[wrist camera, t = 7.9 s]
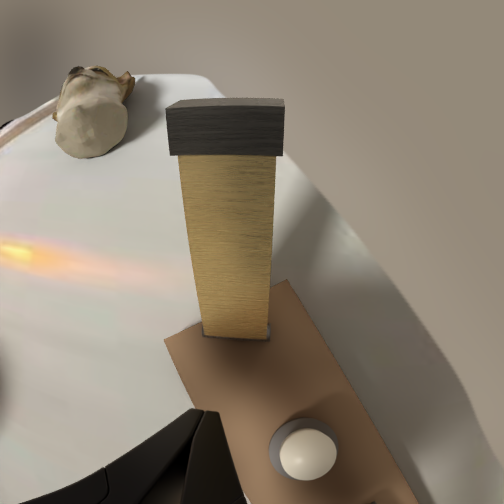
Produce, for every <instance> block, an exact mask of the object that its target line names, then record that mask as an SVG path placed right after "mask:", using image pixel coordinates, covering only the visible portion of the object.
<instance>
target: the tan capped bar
mask: <svg viewBox="0 0 504 504" xmlns="http://www.w3.org/2000/svg"><path fill="white" fill-rule="evenodd" d="M165 110H166V121H167V132H168V142H169V151H170V156H175V155H178V162H179V171H180V180H181V188H182V197H183V204H184V212H185V219H186V227H187V234H188V240H189V247H190V254H191V260H192V266H193V272H194V278H195V284H196V290H197V296H198V301H199V307H200V312H201V318H202V337H206V338H217V339H229V340H244V341H260V342H270V333H271V323H267V321H268V305H269V289H270V272H271V254H272V236H273V216H274V194H275V171H276V156H283V138H284V114H285V105H284V100H283V99H273V98H210V99H191V100H180V101H178V102H176V103H174V104H173V105H171V106H169V107H167V108H166V109H165Z"/></svg>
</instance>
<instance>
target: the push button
mask: <svg viewBox="0 0 504 504" xmlns="http://www.w3.org/2000/svg"><path fill="white" fill-rule="evenodd" d="M336 455H337V452H336V447H335V444H334V442H333V441H332V440H331V439H330V438H329V437H328V436H327V435H325V434H323V433H322V432H320V431H318V430H315V429H310V428H305V429H300V430H297V431H294V432H293V433H291V434H290V435H288V436H287V437H286V438H285V439H284V441H283V442H282V444H281V447H280V451H279V456H280V460H281V463H282V466H283V468H284V470H285V471H286V473H287V474H289V475H290V476H291V477H293V478H295V479H299V480H313V479H317V478H319V477H321V476H323V475H325V474H326V473H327V472H328V471H329V470H330V469H331V468H332V466H333V465H334V463H335V460H336Z"/></svg>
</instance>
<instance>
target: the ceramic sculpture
mask: <svg viewBox="0 0 504 504" xmlns="http://www.w3.org/2000/svg"><path fill="white" fill-rule="evenodd" d="M134 85H135V78H134V77H131V75H130V73H129V72H128V71H127V72H126V73H125V74H124V75H122V76H121V77H119V78H116V77H115V76H113V75H112V74H111V73H110V72H109V71H108V70H107V69H106V68H104V67H100V66H91V67H88V68H85V69H84V68H83V67H79V66H78V67H75V68H73V69H72V70H71V71H70V73H69V75H68V78H67V79H66V81H65V82H64V84H63V86H62V89H61V92H60V97H59V102H58V105H57V111H56V112H54V113H53V119H54V120H55V121H57V122H58V124H57V129H56V138H55V141H56V143H57V144H58V146H59V147H60V148H61V149H62V150H63V151H64V152H66V153H67V154H68V155H70V156H72V157H75V158H78V159H83V158H89V157H95V156H101V155H103V154H105V153H106V152H107V151H109V150H110V149H111V148H112V147H114V146H115V145H117V144H118V143H119V142H120V141H121V140H122V139H123V137H124V135H125V132H126V128H127V122H128V114H127V109H126V107H125V106H124V105H123V104H122V103H123V102H124V100H125V99H126V98H127V97H128V96H129V95H130V94H131V92H132V91H133V88H134Z"/></svg>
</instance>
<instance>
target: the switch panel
mask: <svg viewBox="0 0 504 504" xmlns="http://www.w3.org/2000/svg"><path fill="white" fill-rule="evenodd" d="M267 323H271V333H270V342H260V341H244V340H229V339H217V338H206V337H202V322H200V323H198V324H196V325H194V326H192V327H190V328H188V329H185V330H183V331H181V332H179V333H177V334H175V335H173V336H171V337H168V338H166V339H164V342H165V344H166V347H167V349H168V351H169V354H170V356H171V358H172V360H173V363H174V365H175V367H176V369H177V371H178V374H179V376H180V378H181V380H182V382H183V384H184V386H185V388H186V390H187V392H188V394H189V396H190V399H191V401H192V403H193V404H194V406H195V408H196V409H201V410H204V411H206V410H209V411H217V412H219V413H220V417H221V421H222V424H223V428H224V431H225V435H226V438H227V442H228V445H229V449H230V452H231V455H232V459H233V462H234V465H235V468H236V472H237V475H238V478H239V481H240V484H241V487H242V490H243V491H244V493H245V494H246V496H247V497H248V499H249V500H250V502H251V503H252V504H419V503H418V501H417V500H416V498H415V496H414V494H413V492H412V491H411V489H410V487H409V485H408V483H407V482H406V480H405V478H404V476H403V475H402V473H401V471H400V469H399V468H398V466H397V464H396V462H395V461H394V459H393V457H392V455H391V454H390V452H389V450H388V448H387V447H386V445H385V443H384V441H383V440H382V438H381V436H380V434H379V433H378V431H377V429H376V427H375V426H374V424H373V422H372V421H371V419H370V417H369V415H368V414H367V412H366V410H365V409H364V407H363V405H362V403H361V402H360V400H359V398H358V397H357V395H356V393H355V392H354V390H353V388H352V386H351V385H350V383H349V381H348V380H347V378H346V376H345V375H344V373H343V371H342V370H341V368H340V366H339V365H338V363H337V361H336V360H335V358H334V356H333V354H332V353H331V351H330V349H329V348H328V346H327V344H326V343H325V341H324V339H323V338H322V336H321V334H320V333H319V331H318V330H317V328H316V326H315V325H314V323H313V321H312V320H311V318H310V316H309V315H308V313H307V311H306V310H305V308H304V306H303V305H302V303H301V301H300V300H299V298H298V297H297V295H296V293H295V292H294V290H293V288H292V287H291V285H290V283H289V282H288V280H287V279H286V280H284V281H283V282H281V283H279V284H277V285H275V286H273V287H271V288H270V289H269V305H268V321H267ZM305 428H310V429H315V430H318V431H320V432H322V433H323V434H325V435H327V436H328V437H329V438H330V439H331V440H332V441H333V442H334V444H335V447H336V452H337V455H336V460H335V463H334V465H333V466H332V468H331V469H330V470H329V471H328V472H327V473H326V474H325V475H323V476H321V477H319V478H317V479H313V480H299V479H295V478H293V477H291V476H290V475H289V474H287V473H286V471H285V470H284V468H283V466H282V463H281V460H280V456H279V451H280V447H281V444H282V442H283V441H284V439H285V438H286V437H287V436H288V435H290V434H291V433H293V432H294V431H297V430H300V429H305Z"/></svg>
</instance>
